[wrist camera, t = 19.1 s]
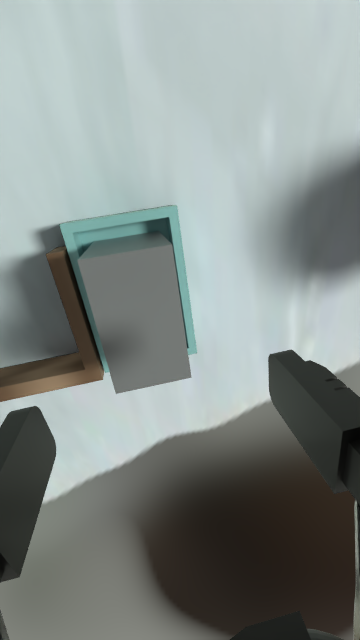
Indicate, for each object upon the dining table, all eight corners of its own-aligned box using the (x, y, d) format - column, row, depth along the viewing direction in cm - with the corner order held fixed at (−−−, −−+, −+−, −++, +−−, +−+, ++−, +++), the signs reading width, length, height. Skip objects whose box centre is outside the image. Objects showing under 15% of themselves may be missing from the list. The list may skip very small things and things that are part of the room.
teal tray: (171, 205, 20) (176, 205, 18) (190, 339, 24) (196, 352, 22) (67, 221, 19) (59, 224, 17) (107, 356, 24) (105, 372, 21)
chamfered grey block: (158, 231, 20) (172, 244, 14) (174, 329, 23) (191, 377, 17) (94, 241, 19) (77, 260, 13) (119, 340, 23) (115, 393, 16)
